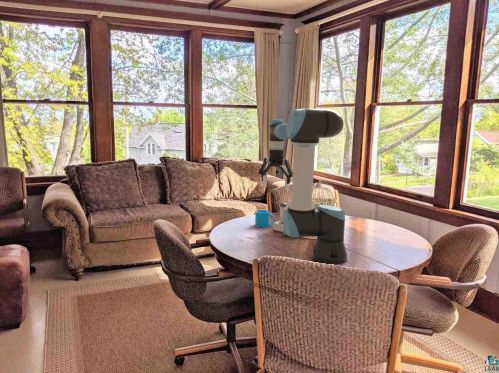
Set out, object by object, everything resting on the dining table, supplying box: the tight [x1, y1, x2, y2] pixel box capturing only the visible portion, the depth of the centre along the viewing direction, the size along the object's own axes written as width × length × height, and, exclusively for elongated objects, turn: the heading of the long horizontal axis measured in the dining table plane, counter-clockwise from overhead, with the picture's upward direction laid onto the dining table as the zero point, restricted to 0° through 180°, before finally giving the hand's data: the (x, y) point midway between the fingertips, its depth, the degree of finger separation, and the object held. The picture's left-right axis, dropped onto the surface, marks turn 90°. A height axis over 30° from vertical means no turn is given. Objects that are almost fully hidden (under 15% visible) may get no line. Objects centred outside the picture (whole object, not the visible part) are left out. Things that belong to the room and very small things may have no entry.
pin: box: [279, 202, 288, 224], centre depth 226 cm, size 4×4×15 cm
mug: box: [254, 209, 276, 228], centre depth 236 cm, size 12×8×8 cm
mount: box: [273, 220, 284, 233], centre depth 227 cm, size 7×7×4 cm
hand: (275, 188), depth 220 cm, fingers open, 13 cm apart
